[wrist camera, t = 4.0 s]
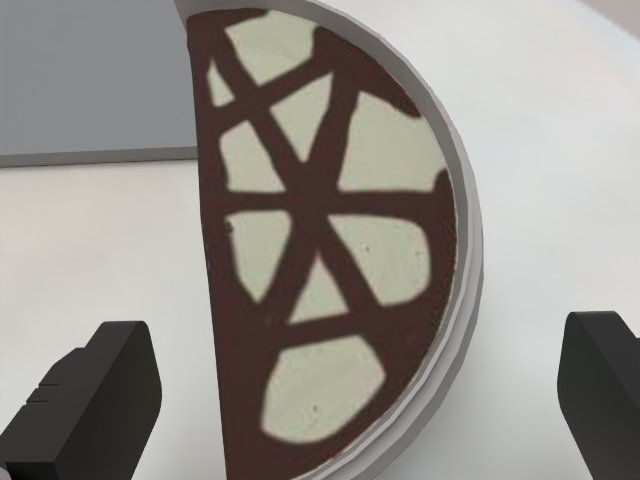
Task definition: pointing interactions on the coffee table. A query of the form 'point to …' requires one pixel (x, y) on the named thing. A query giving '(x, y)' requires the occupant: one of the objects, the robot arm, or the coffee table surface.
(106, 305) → the coffee table surface
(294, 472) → the food container
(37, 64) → the slate board
